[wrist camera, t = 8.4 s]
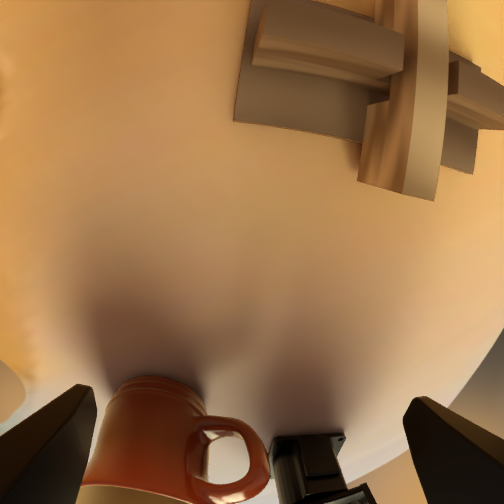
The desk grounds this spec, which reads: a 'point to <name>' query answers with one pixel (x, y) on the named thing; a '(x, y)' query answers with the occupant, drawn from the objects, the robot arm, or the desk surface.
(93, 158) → the desk surface
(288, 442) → the robot arm
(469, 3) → the desk surface
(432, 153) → the oak plate
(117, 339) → the desk surface
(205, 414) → the mug
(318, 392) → the desk surface
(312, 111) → the joint base
